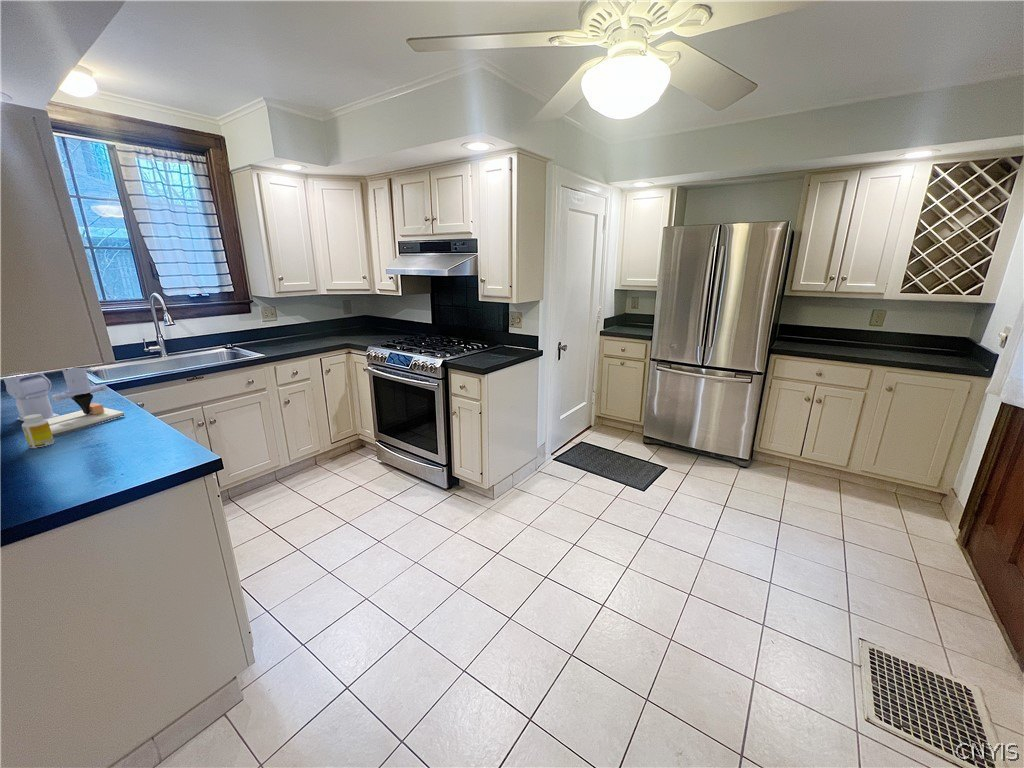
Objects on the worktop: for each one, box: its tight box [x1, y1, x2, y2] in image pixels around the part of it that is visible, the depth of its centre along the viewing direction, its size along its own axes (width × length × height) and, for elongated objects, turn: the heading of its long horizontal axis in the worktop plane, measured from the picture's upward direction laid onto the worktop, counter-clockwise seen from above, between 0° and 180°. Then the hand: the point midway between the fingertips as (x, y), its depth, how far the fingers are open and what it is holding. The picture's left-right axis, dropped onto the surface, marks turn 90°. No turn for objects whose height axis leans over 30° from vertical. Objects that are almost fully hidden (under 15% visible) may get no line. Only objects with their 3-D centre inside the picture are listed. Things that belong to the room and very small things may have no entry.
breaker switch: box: [89, 402, 105, 415], centre depth 153 cm, size 5×3×4 cm, turn 70°
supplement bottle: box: [21, 414, 55, 449], centre depth 130 cm, size 6×6×10 cm
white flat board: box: [45, 406, 126, 437], centre depth 149 cm, size 16×20×2 cm
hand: (87, 413), depth 151 cm, fingers closed
